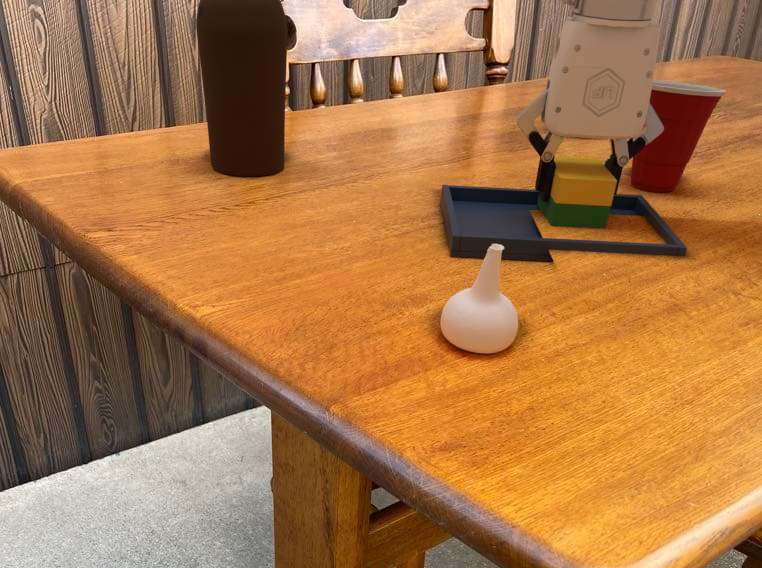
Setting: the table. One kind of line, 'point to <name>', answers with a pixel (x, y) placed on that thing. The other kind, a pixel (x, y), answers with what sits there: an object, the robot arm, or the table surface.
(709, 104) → the plastic cup
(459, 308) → the garlic bulb
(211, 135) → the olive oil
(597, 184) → the sponge
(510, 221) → the tray
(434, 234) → the table surface
